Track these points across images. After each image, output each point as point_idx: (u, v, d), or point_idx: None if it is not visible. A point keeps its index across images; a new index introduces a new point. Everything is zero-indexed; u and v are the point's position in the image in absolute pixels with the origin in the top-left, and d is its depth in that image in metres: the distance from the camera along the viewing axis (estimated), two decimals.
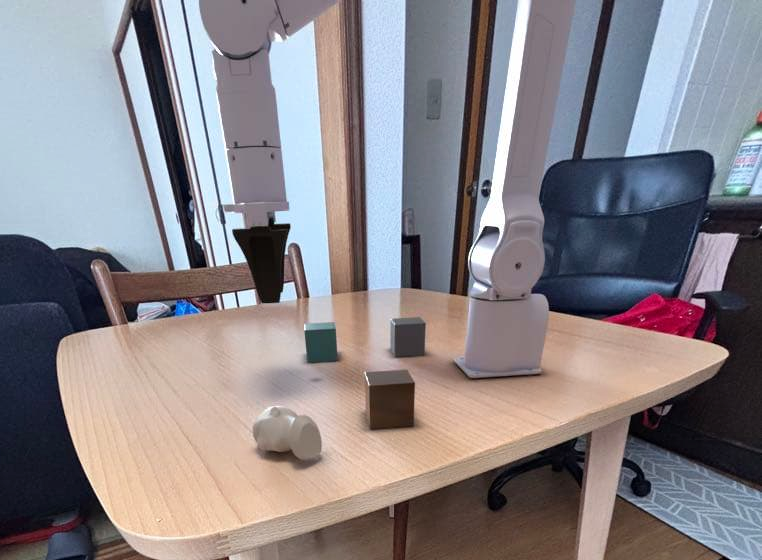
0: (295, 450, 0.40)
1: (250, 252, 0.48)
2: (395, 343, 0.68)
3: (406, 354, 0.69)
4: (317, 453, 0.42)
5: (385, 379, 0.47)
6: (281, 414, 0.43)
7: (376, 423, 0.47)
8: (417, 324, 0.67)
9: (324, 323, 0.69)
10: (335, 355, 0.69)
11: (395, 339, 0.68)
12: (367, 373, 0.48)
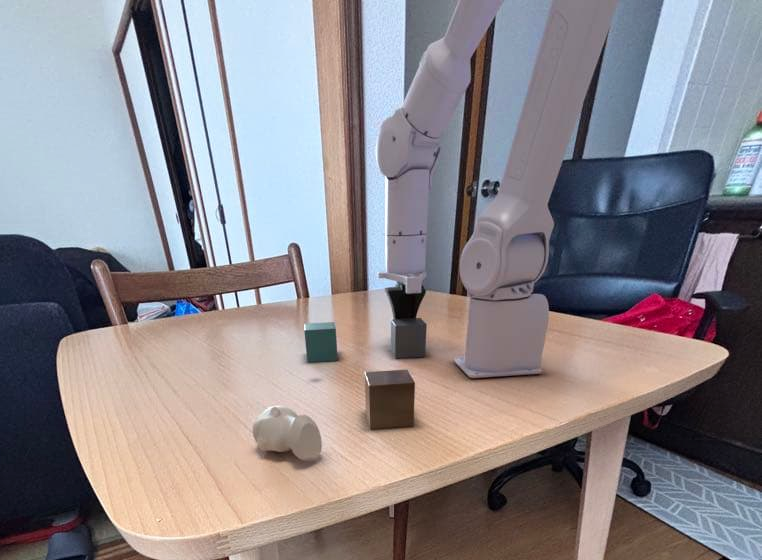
0: (295, 450, 0.40)
1: (398, 305, 0.68)
2: (396, 344, 0.68)
3: (407, 355, 0.69)
4: (317, 453, 0.42)
5: (385, 379, 0.47)
6: (281, 414, 0.43)
7: (376, 423, 0.47)
8: (418, 325, 0.66)
9: (324, 323, 0.69)
10: (335, 355, 0.69)
11: (396, 340, 0.67)
12: (367, 373, 0.48)
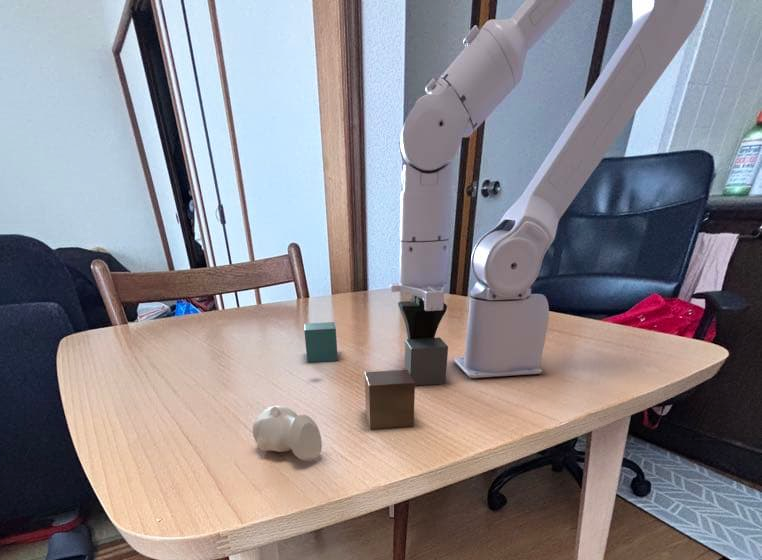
0: (295, 450, 0.40)
1: (414, 323, 0.58)
2: (411, 370, 0.57)
3: (424, 382, 0.58)
4: (317, 453, 0.42)
5: (385, 379, 0.47)
6: (281, 414, 0.43)
7: (376, 423, 0.47)
8: (438, 348, 0.56)
9: (324, 323, 0.69)
10: (335, 355, 0.69)
11: (411, 365, 0.57)
12: (367, 373, 0.48)
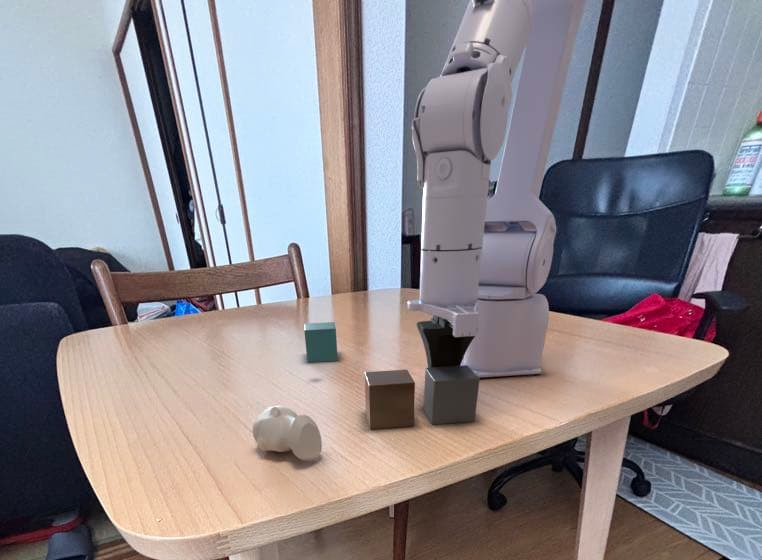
0: (295, 450, 0.40)
1: (436, 348, 0.48)
2: (434, 406, 0.47)
3: (449, 420, 0.48)
4: (317, 453, 0.42)
5: (385, 379, 0.47)
6: (282, 414, 0.43)
7: (376, 423, 0.47)
8: (467, 380, 0.46)
9: (324, 323, 0.69)
10: (335, 355, 0.69)
11: (434, 400, 0.47)
12: (367, 373, 0.48)
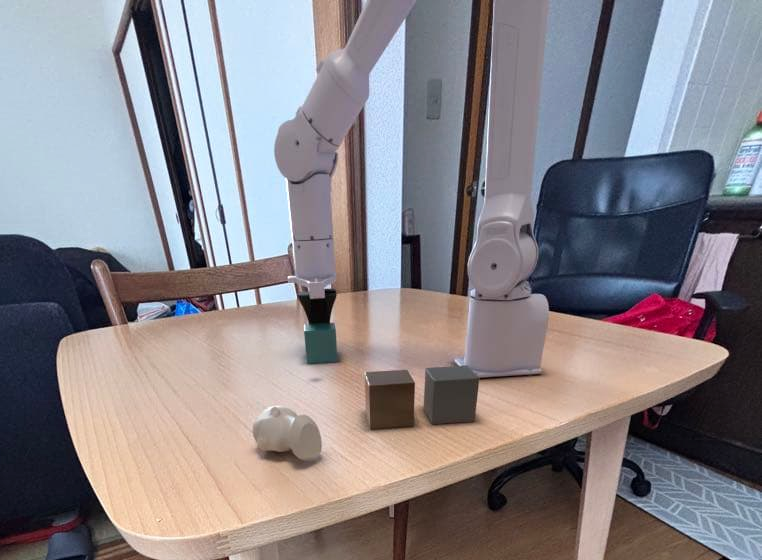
0: (295, 450, 0.40)
1: (309, 309, 0.68)
2: (434, 405, 0.47)
3: (449, 420, 0.48)
4: (317, 453, 0.42)
5: (385, 379, 0.47)
6: (281, 414, 0.43)
7: (376, 423, 0.47)
8: (467, 379, 0.46)
9: (324, 324, 0.69)
10: (335, 356, 0.68)
11: (434, 400, 0.47)
12: (367, 373, 0.48)
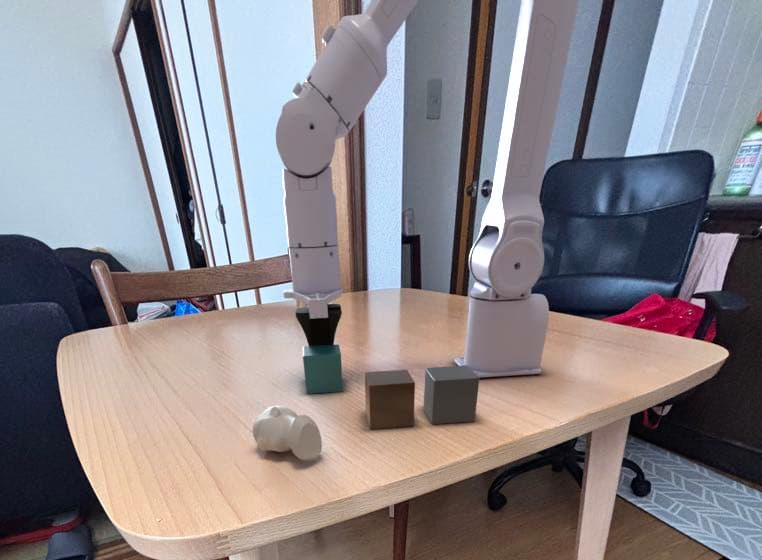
0: (295, 450, 0.40)
1: (309, 329, 0.57)
2: (434, 405, 0.47)
3: (449, 420, 0.48)
4: (317, 453, 0.42)
5: (385, 379, 0.47)
6: (281, 414, 0.43)
7: (376, 423, 0.47)
8: (467, 379, 0.46)
9: (327, 346, 0.58)
10: (340, 384, 0.57)
11: (434, 400, 0.47)
12: (367, 373, 0.48)
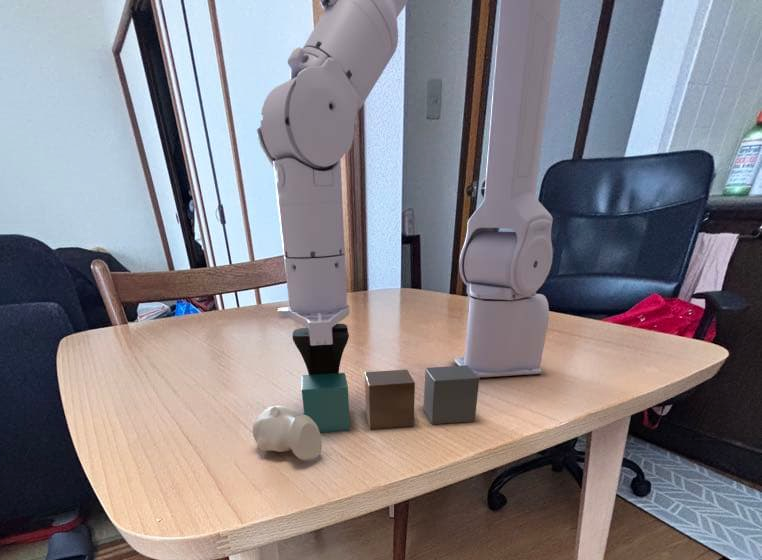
0: (295, 450, 0.40)
1: (309, 356, 0.47)
2: (434, 405, 0.47)
3: (449, 420, 0.48)
4: (317, 453, 0.42)
5: (385, 379, 0.47)
6: (281, 414, 0.43)
7: (376, 423, 0.47)
8: (467, 379, 0.46)
9: (330, 375, 0.48)
10: (346, 422, 0.47)
11: (434, 400, 0.47)
12: (367, 373, 0.48)
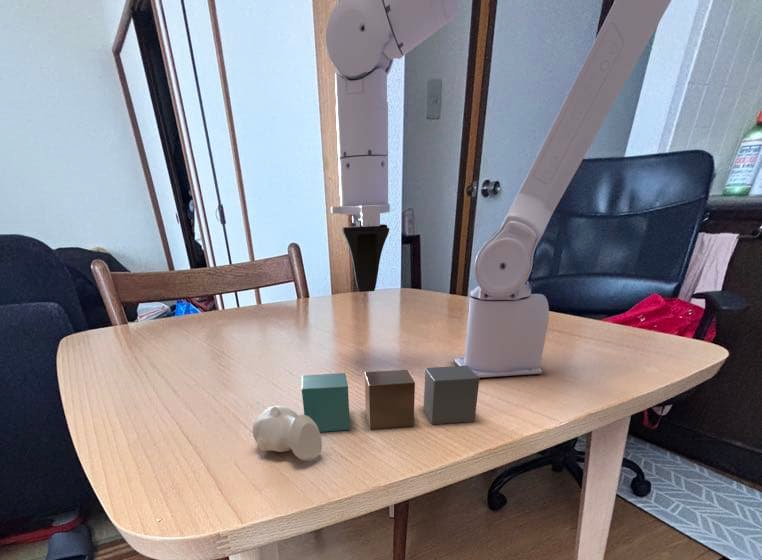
0: (295, 450, 0.40)
1: (356, 247, 0.57)
2: (434, 406, 0.47)
3: (449, 420, 0.48)
4: (317, 453, 0.42)
5: (385, 379, 0.47)
6: (282, 414, 0.43)
7: (376, 423, 0.47)
8: (467, 380, 0.46)
9: (330, 375, 0.48)
10: (346, 422, 0.47)
11: (434, 400, 0.47)
12: (367, 373, 0.48)
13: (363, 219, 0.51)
